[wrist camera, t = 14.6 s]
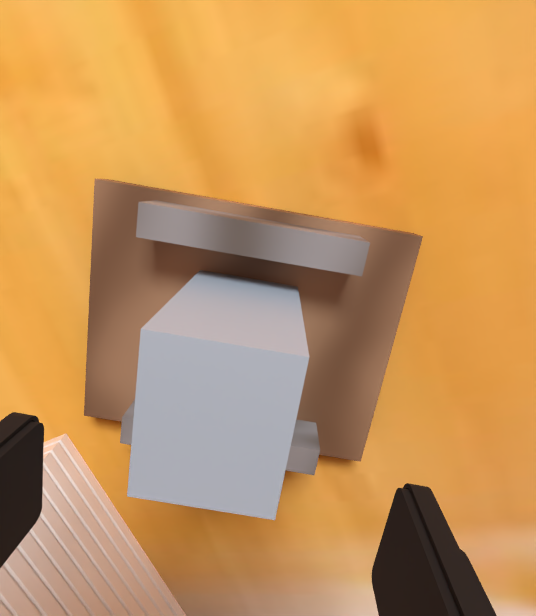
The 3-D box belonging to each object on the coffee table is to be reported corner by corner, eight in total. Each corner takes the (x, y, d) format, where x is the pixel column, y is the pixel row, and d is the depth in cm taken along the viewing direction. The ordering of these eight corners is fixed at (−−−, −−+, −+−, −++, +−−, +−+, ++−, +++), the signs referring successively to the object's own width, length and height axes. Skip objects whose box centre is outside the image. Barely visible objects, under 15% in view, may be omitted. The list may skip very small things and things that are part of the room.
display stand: (413, 233, 21) (442, 243, 17) (356, 445, 25) (369, 492, 21) (107, 179, 21) (68, 177, 17) (95, 402, 25) (61, 441, 21)
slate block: (297, 286, 21) (309, 357, 12) (277, 391, 22) (274, 520, 14) (200, 270, 20) (140, 328, 12) (187, 376, 22) (127, 496, 14)
